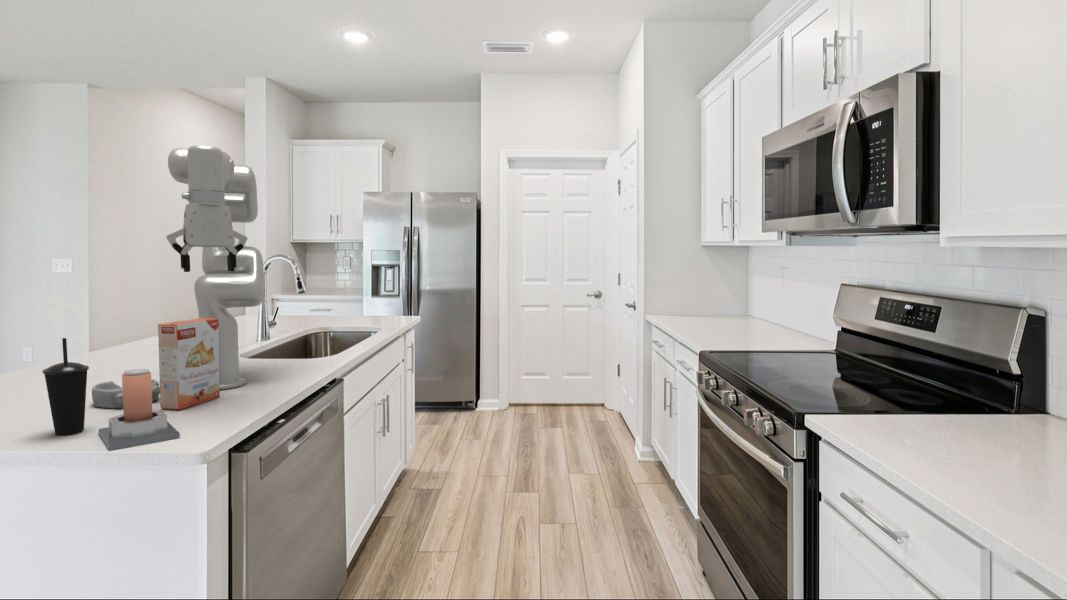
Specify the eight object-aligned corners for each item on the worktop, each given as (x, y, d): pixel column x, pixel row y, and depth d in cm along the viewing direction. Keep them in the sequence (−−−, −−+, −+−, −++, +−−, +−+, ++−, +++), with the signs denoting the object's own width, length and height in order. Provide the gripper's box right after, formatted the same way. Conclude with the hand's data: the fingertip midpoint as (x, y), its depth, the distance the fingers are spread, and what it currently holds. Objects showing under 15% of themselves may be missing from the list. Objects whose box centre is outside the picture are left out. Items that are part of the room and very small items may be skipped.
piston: (122, 430, 125) (119, 370, 124) (150, 425, 129) (148, 367, 128) (126, 435, 122) (123, 374, 121) (155, 431, 125) (152, 371, 124)
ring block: (98, 433, 126) (97, 414, 126) (164, 422, 134) (163, 405, 134) (109, 450, 116) (108, 430, 116) (179, 437, 124) (179, 418, 124)
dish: (87, 402, 151) (85, 383, 151) (150, 393, 161) (149, 375, 161) (101, 414, 142) (99, 393, 141) (167, 403, 152) (166, 383, 151)
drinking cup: (62, 427, 131) (57, 335, 129) (100, 426, 131) (95, 335, 129) (36, 438, 123) (31, 341, 121) (76, 437, 124) (71, 341, 122)
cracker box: (180, 411, 144) (177, 324, 142) (159, 409, 145) (155, 323, 143) (222, 397, 158) (219, 317, 156) (202, 395, 159) (199, 317, 157)
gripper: (169, 196, 135) (172, 272, 136) (250, 200, 146) (252, 271, 148) (161, 198, 140) (164, 271, 142) (240, 202, 152) (242, 270, 153)
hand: (209, 271), depth 145 cm, fingers open, 9 cm apart
